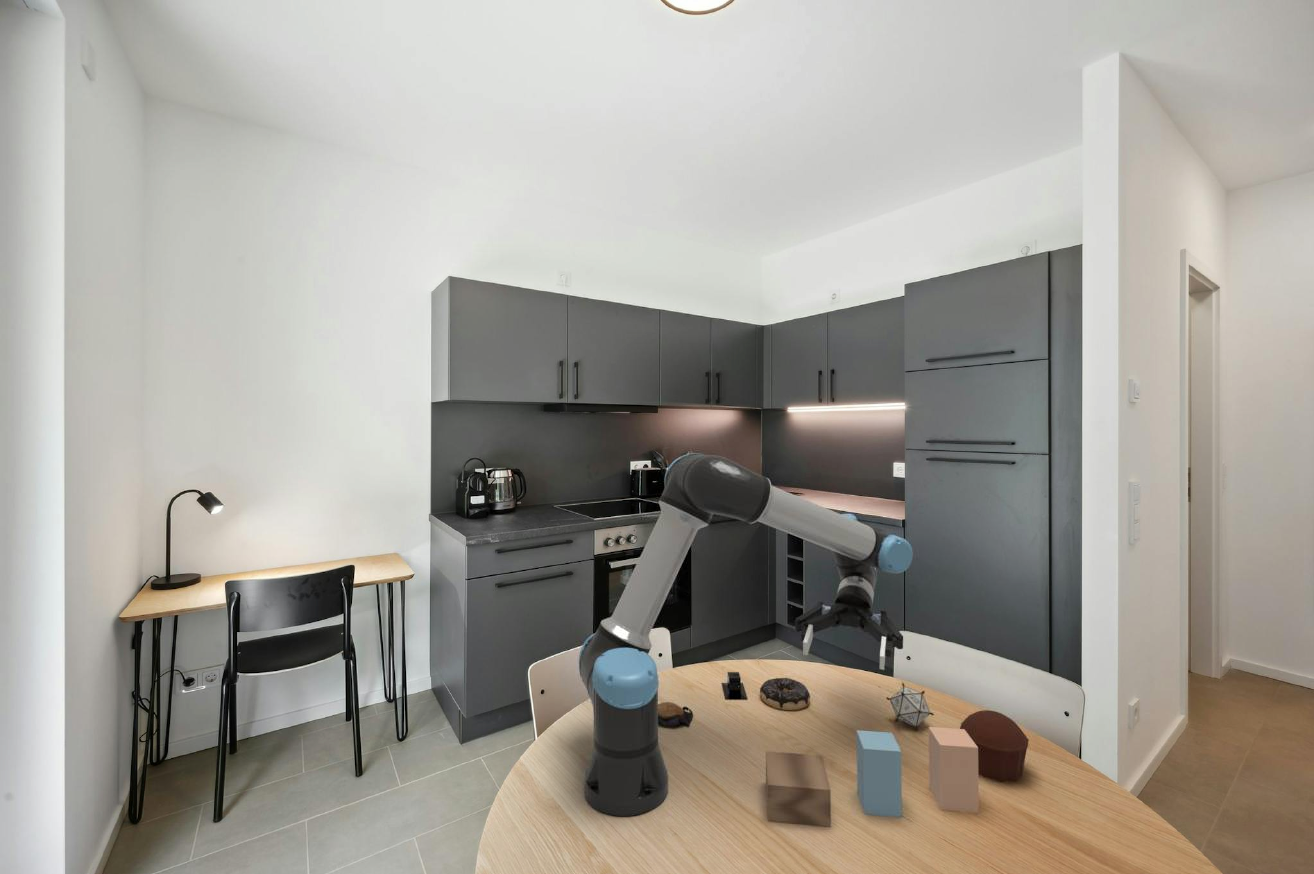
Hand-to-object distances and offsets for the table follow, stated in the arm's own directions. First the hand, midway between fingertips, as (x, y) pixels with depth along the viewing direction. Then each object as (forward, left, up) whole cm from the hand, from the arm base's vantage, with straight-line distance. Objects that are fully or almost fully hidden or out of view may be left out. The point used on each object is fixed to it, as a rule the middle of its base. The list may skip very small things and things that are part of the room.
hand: (842, 655), depth 104 cm
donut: (-9, +30, -23) cm, 39 cm away
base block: (-9, -9, -23) cm, 26 cm away
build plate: (-21, +33, -24) cm, 46 cm away
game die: (+18, +22, -23) cm, 37 cm away
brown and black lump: (-35, +18, -24) cm, 46 cm away
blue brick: (+5, -7, -23) cm, 24 cm away
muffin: (+29, +7, -23) cm, 38 cm away
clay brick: (+18, -4, -23) cm, 29 cm away
